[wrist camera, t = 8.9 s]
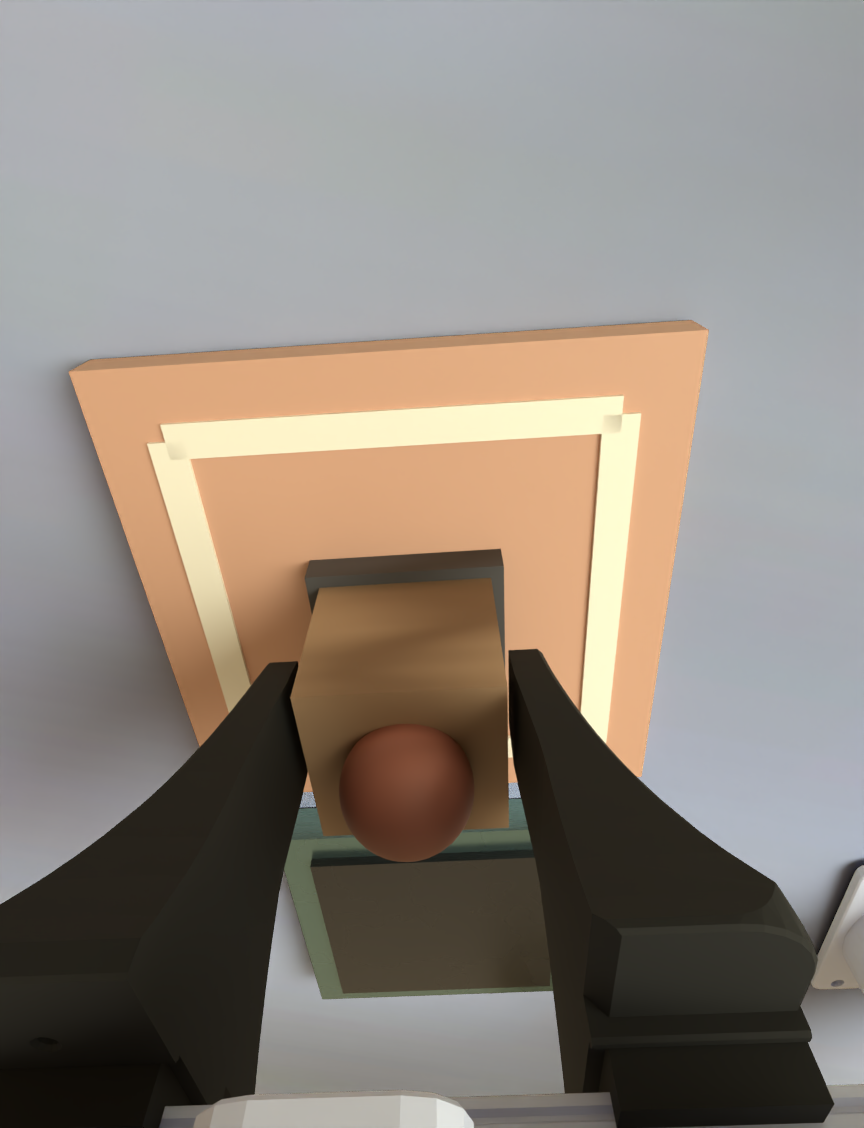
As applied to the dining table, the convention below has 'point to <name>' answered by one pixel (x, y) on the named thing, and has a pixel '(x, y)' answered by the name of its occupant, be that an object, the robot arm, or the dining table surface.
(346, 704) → the walnut stamp
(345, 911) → the ink pad
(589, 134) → the dining table surface
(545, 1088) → the dining table surface
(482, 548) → the marked board
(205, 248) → the dining table surface
